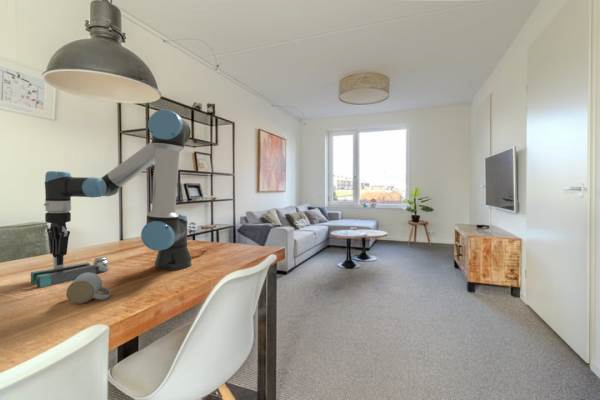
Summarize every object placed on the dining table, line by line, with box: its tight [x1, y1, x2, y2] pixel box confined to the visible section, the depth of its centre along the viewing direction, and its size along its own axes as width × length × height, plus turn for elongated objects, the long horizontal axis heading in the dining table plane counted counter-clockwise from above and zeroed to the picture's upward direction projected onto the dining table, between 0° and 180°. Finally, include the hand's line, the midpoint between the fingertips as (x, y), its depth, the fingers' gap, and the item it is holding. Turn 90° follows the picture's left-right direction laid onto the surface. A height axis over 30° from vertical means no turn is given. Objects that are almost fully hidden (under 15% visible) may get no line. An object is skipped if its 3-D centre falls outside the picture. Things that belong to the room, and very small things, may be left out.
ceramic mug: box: [66, 273, 112, 305], centre depth 90 cm, size 11×8×8 cm
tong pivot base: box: [36, 258, 109, 289], centre depth 112 cm, size 24×6×4 cm, turn 151°
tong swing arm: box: [30, 256, 107, 285], centre depth 113 cm, size 23×6×5 cm, turn 146°
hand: (58, 272), depth 112 cm, fingers closed
